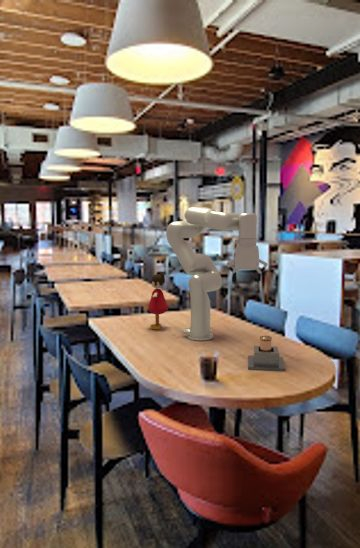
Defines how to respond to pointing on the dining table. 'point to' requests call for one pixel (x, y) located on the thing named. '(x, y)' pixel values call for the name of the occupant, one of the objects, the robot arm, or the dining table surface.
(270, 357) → the flange socket
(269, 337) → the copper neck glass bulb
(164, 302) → the toy
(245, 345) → the dining table surface
